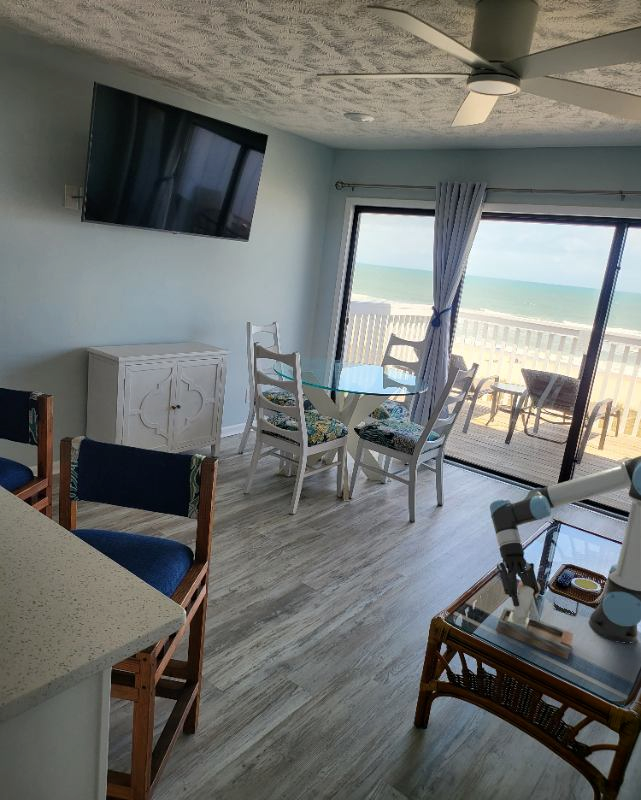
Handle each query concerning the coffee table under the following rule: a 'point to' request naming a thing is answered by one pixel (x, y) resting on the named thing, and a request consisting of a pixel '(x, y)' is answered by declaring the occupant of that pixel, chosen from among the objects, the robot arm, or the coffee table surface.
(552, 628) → the track
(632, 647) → the coffee table surface
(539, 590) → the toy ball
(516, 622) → the disc
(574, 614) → the phone
